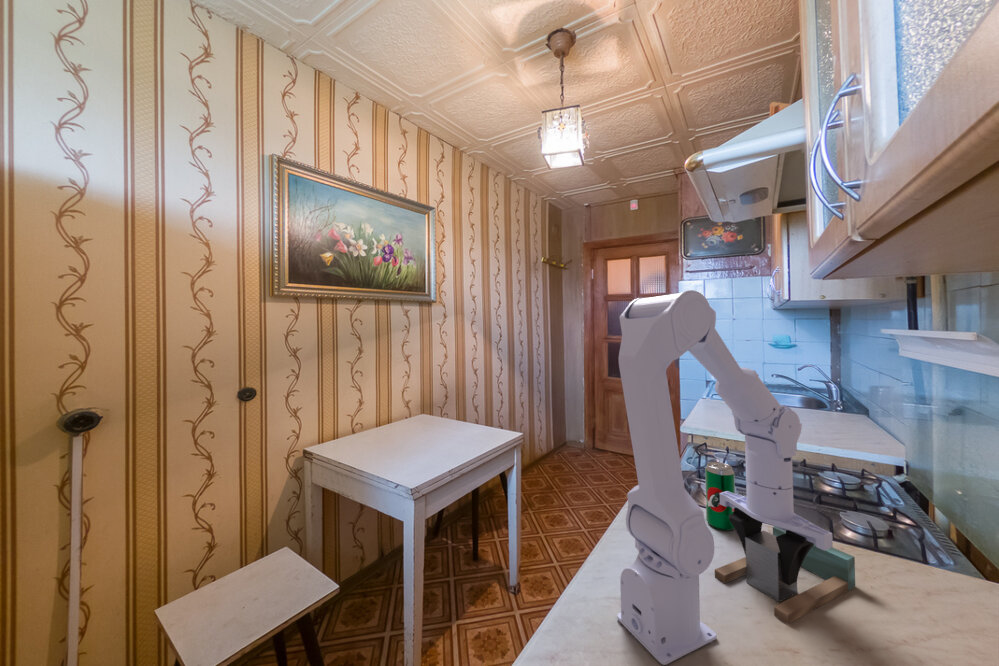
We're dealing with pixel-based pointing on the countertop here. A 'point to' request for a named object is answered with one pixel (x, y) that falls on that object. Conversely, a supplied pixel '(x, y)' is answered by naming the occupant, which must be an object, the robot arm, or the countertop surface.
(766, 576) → the block
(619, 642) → the countertop surface
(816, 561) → the guide channel
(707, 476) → the soda can
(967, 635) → the countertop surface
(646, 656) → the countertop surface
